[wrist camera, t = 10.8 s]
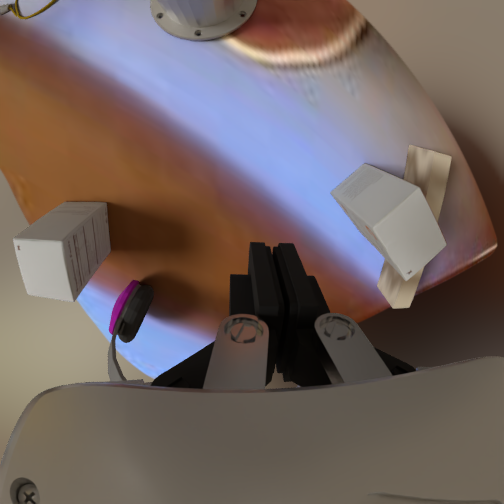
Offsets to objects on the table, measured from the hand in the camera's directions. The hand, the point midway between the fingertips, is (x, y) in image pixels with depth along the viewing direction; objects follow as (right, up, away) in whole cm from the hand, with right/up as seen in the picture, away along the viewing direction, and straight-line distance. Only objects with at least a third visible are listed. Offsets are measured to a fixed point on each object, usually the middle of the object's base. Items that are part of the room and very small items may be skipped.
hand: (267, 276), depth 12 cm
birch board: (+21, +5, +26) cm, 34 cm away
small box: (+14, +8, +25) cm, 30 cm away
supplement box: (-23, +5, +24) cm, 34 cm away
